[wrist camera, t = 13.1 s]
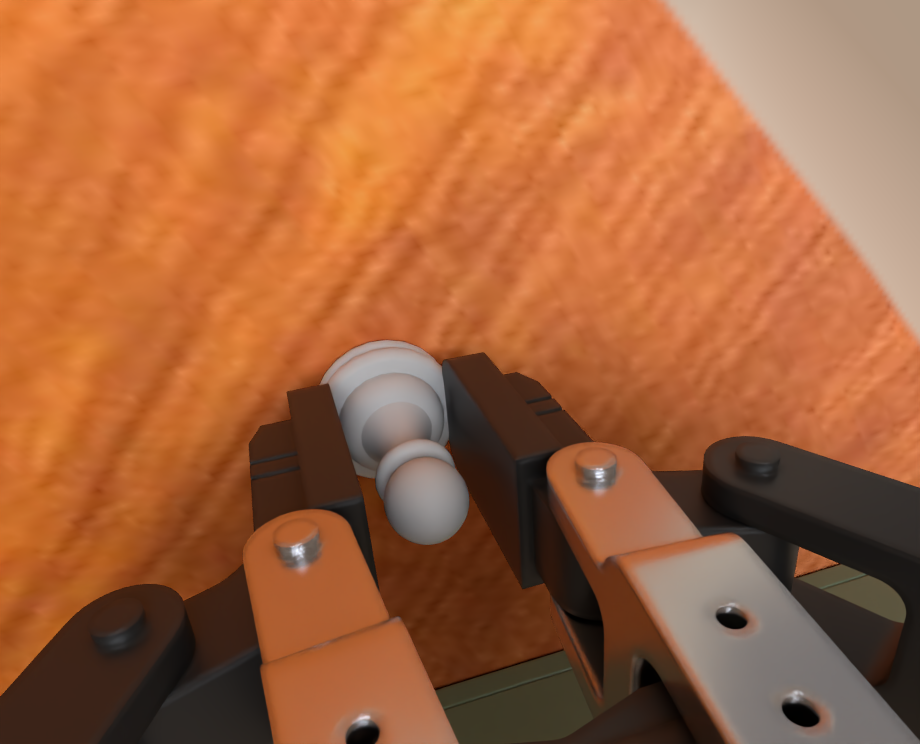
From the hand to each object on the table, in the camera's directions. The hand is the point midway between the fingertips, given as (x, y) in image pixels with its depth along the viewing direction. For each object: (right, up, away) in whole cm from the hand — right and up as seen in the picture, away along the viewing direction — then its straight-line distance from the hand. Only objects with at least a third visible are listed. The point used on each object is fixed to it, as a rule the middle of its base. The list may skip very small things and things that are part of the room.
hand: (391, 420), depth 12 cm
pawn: (0, 0, +1) cm, 1 cm away
